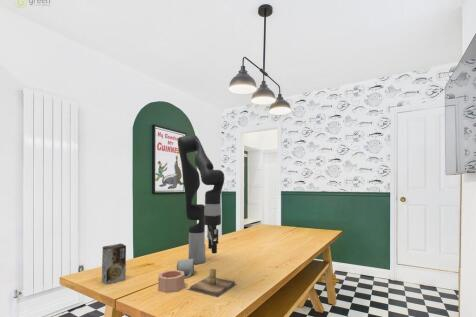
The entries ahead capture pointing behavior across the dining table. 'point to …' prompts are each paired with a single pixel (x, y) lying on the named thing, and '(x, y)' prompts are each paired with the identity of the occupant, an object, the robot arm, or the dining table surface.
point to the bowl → (171, 281)
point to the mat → (214, 295)
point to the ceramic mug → (186, 267)
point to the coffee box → (113, 263)
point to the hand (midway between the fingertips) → (212, 250)
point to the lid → (212, 284)
